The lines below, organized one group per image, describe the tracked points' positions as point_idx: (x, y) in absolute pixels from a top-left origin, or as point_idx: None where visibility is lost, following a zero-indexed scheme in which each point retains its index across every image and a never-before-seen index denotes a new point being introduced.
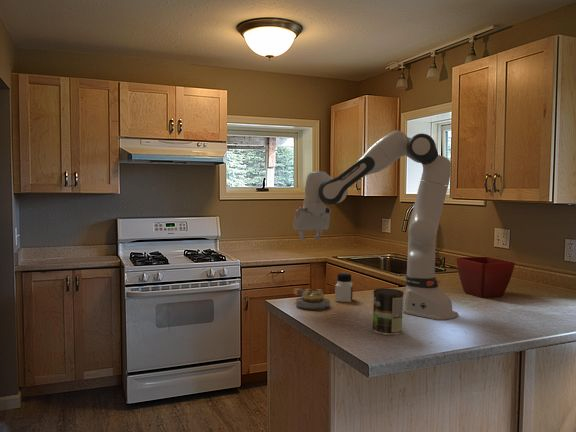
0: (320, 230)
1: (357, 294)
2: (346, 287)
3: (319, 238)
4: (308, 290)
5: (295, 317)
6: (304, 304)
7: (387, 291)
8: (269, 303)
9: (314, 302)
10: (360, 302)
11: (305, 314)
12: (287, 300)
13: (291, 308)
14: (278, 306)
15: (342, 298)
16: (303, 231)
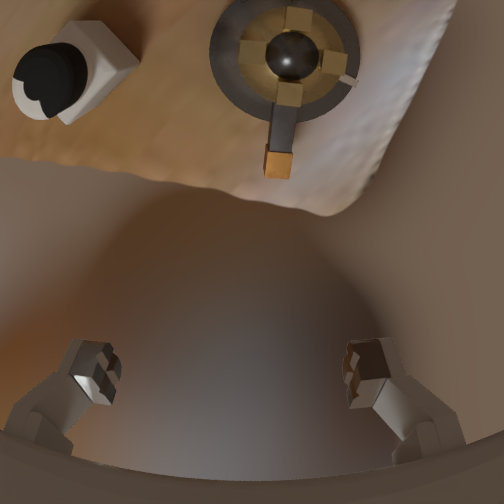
0: (34, 434)
1: (6, 121)
2: (86, 34)
3: (69, 348)
4: (299, 83)
5: (444, 12)
6: (357, 43)
7: None
8: (367, 187)
9: None
10: (72, 6)
11: (397, 3)
12: (288, 181)
13: (371, 88)
14: (380, 139)
15: (117, 42)
16: (437, 431)
